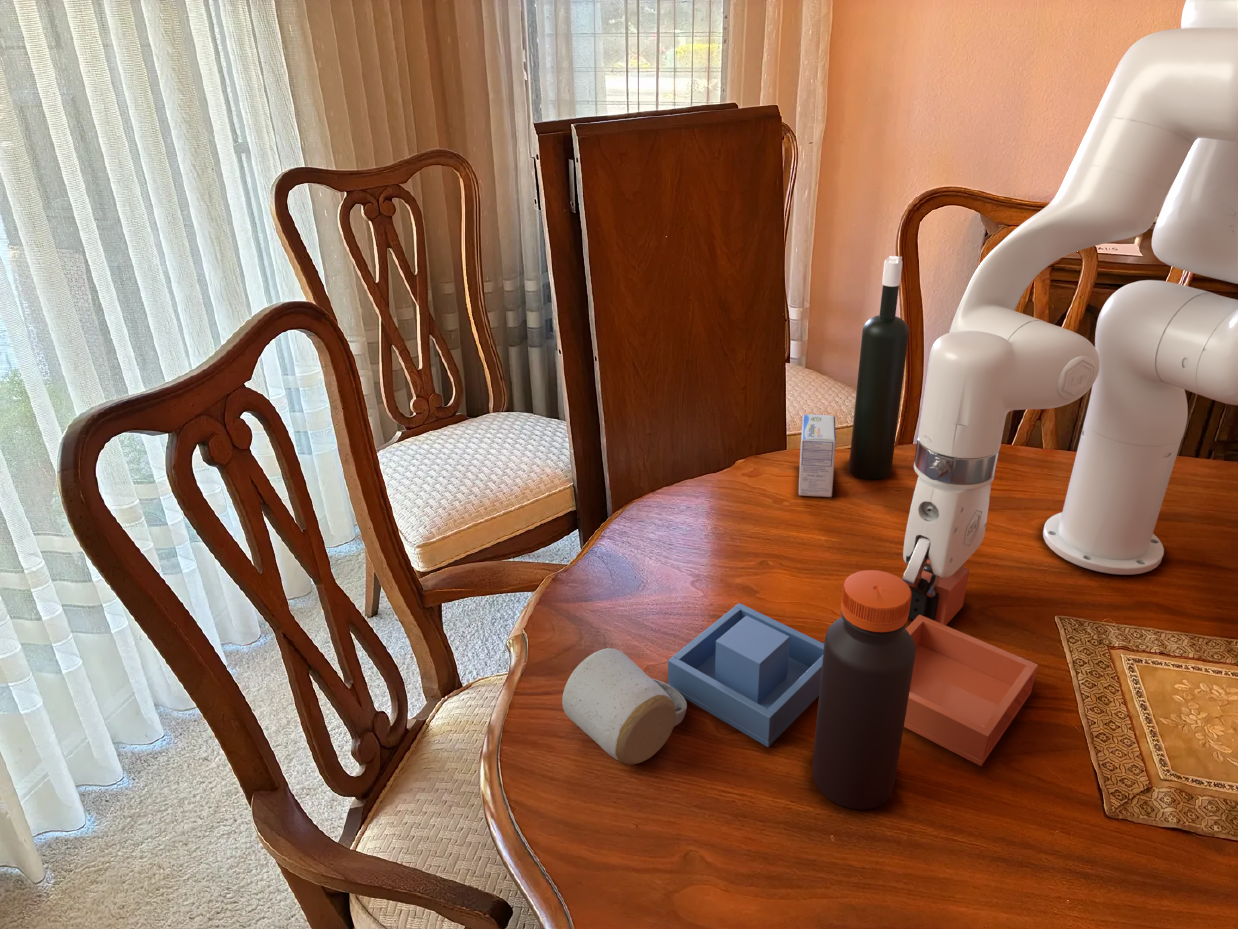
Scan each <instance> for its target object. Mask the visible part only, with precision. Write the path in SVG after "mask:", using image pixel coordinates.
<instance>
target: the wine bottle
mask: <svg viewBox="0 0 1238 929" xmlns="http://www.w3.org/2000/svg"><path fill="white" fill-rule="evenodd" d="M903 261H904V260H903V256H897V255H889V256H888V257H886V258H885V260H884V263H883V270H882V272H883V273H882V282H881V285H882V288H881V289H882V290H881V297H880V308H879V314H878V315H875V316H872V317H870V318H869V319H868V320H866V322H865V323H864V324H863V326H862V333H861V343H860V349H859V350H860V351H859V360H858V372H857V382H856V392H855V402H854V412H853V419H852V420H853V421H852V432H851V441H850V451H849V460H848V461H849V462H848V470H849V472H850V473H851V474H852V475H853V476H855V477H858V478H861V479H863V480H869V481H875V480H876V481H878V480H883V479H886V478H888V477H890V476H891V474H892V470H893V461H894V454H895V446H896V439H897V430H898V423H899V415H900V406H901V398H902V391H903V383H904V376H905V369H906V368H905V367H906V360H907V354H908V353H907V352H908V344H909V336H910V329H909V325H908V324H907V323H906V321H905V320H904V319H902V318H901V317H899V316H896V315H897V305H898V297H899V291H900V290H899V289H900V285H901V279H902V270H903Z"/></svg>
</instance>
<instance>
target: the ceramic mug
mask: <svg viewBox="0 0 1238 929" xmlns="http://www.w3.org/2000/svg"><path fill="white" fill-rule="evenodd" d="M562 692H563V693H562V697H561V698H562V699H561V706H562V709H563V712H564V714H565V715H566V717H567V718H568V719H569V720H570V721H571V722H573V723H574V725H576V727H578V728H580V730H582V731H583V733H585V734H586V735H587V736H588V737H589V738H590V739H591V740H593V742H595V743H596V744H597V745H598V746H599V747H600V748H601V749H602V750H603V751H604V752H606V753H607V754H608V755H609V756H610V757H612V758H613V759H615V760H617V761H618V762H620V763H622V764H625V765H630V766H631V765H638V764H640V763H643V762H645V761H647V760H650V759H651V758H652V757H653V756H654V755H655V754H657V753H658V752H659V751H660V750H661V749H662V747H664V745H665V744H666V743H667V741H668V739H669V738H670V736H671V734H672V732H673V730H674V727H676V726H678V725H679V724H680V723H682V721H683V720H684V718H685V715H686V712H687V709H688V703H687V699H685V698H684V697H683V696H682V695H681V694H680V693H679V692H678V691H677V690H676V689H674V688H673V687H671V686H670V685H668V683H666V682H664V681H661V680H659V679H656V678H653V677H650V676H649V675H648V674H646V673H645V672H644V670H643V669H642V668H640V666H638V665H637V664H636V663H635V662H634V661H633V660H632V659H631V658H629V656H627V654H626V653H624V652H622V651H621V650H619V649H617V648H611V647H609V648H608V647H607V648H601V649H599V650H597V651H594V652H593V653H591V654H590V655H588V656H587V657H586V658H584V659H583V660H582V661H581V662H580V663H579V664H578V665H577V666H576V667H575V668H574V670H573V671H572V672H571V674H570V675H569V678H568V679H567V682H566V683H565V685H564V688H563V691H562Z"/></svg>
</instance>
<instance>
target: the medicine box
mask: <svg viewBox="0 0 1238 929" xmlns="http://www.w3.org/2000/svg"><path fill="white" fill-rule="evenodd" d="M836 434H837V432H836V416H834V415H829V414H803V415H802V422H801V435H800V451H799V452H800V453H799V476H798V477H799V478H798V496H801V497H813V498H814V497H815V498H816V497H818V498H832V496H833V487H834V486H833V485H834V473H835V472H834V471H835V460H836V459H835V458H836V443H837V438H836V437H837V436H836Z"/></svg>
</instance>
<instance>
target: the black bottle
mask: <svg viewBox="0 0 1238 929" xmlns="http://www.w3.org/2000/svg"><path fill="white" fill-rule="evenodd" d="M911 597H912V593H911V590H910V588H909V586H908V585H907V584H906V583H905V581H903V580H902V578H900V577H899V576H898V575H895V574H892V573H890V572H887V571H882V570H877V569H875V570H874V569H865V570H860V571H856V572H853V573H851V574H849V576H847V577H846V578H845V579H844V581H843V584H842V593H841V600H840V601H841V602H840V615H841V617H839V618H837V619H836V620H834V622H833V623H831V624H830V625H829V626H828V628H827V631H826V633H825V635H824V642H823V643H824V652H823V662H822V672H821V682H820V692H819V696H818V704H817V715H816V724H815V735H814V744H813V754H812V755H813V756H812V765H811V770H812V778H813V781H814V784H815V785H816V787H817V789H818V790H819V792H821V793H822V794H823V796H824V797H825V798H827V799H829V800H830V801H831V802H833V803H835V804H836V805H839V806H840V807H841V806H842V807H845V808H848V809H850V810H851V809H852V810H869V809H873V808H877V807H879V806H881V805H882V804H884V803H886V802H887V800H888V799H889V798H890V797H891V795H892V794H893V792H894V787H895V784H896V776H897V771H898V764H899V758H900V752H901V745H902V740H903V734H904V728H905V727H904V722H905V716H906V710H907V704H908V698H909V692H910V686H911V680H912V674H913V668H914V662H915V655H916V647H915V643H914V640H913V638H912V636H911V635H910V634H909V633H908V631H907V630H906V628H907V627H906V626H907V624H908V619H909V617H908V616H909V609H910V603H911Z"/></svg>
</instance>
